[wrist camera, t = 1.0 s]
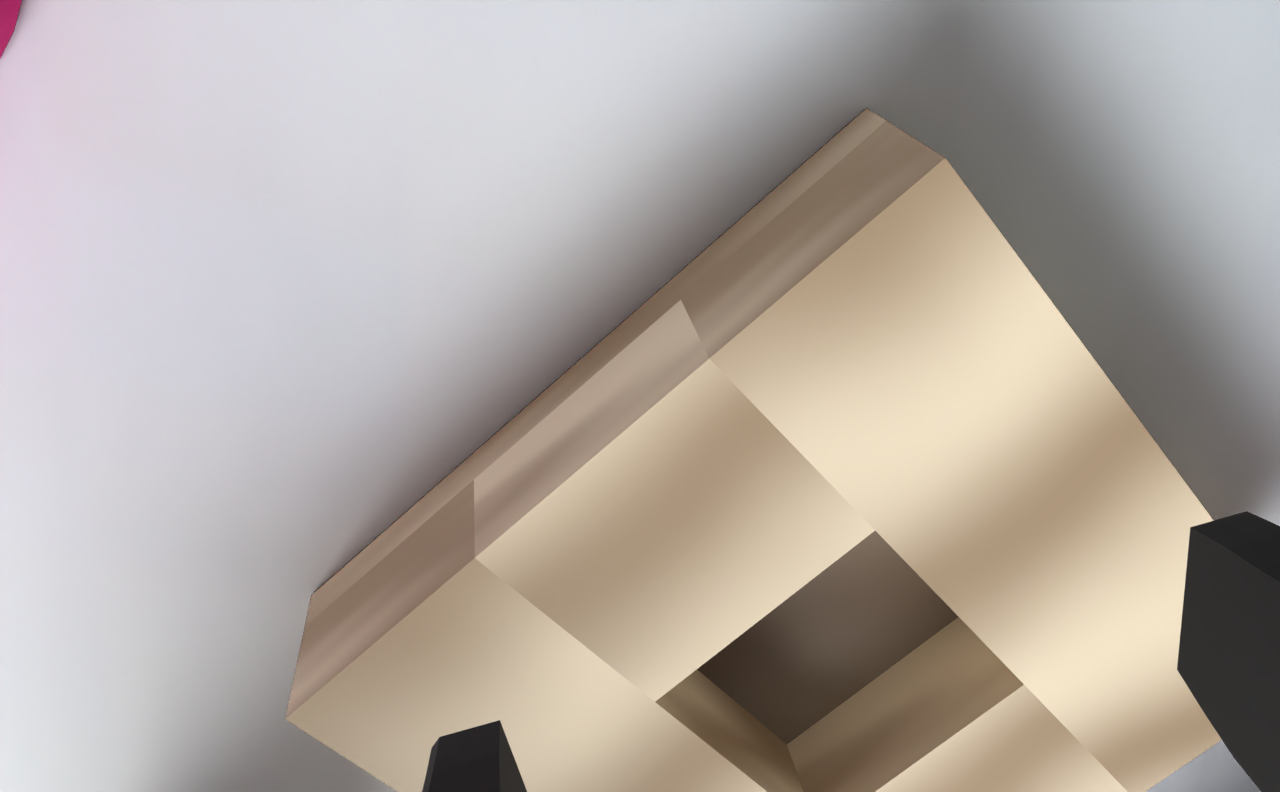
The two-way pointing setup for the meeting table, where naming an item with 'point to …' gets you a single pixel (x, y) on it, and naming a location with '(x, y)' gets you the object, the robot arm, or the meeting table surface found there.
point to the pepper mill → (7, 21)
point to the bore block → (793, 534)
